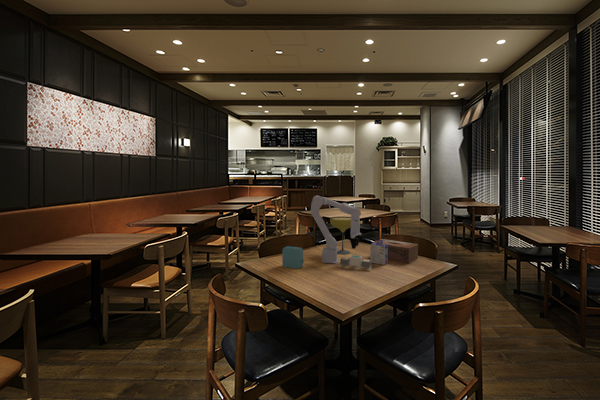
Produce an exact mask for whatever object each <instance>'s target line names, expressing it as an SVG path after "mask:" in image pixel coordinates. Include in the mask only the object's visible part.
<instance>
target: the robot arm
mask: <svg viewBox="0 0 600 400" xmlns="http://www.w3.org/2000/svg"><path fill="white" fill-rule="evenodd" d="M325 205H329V206H333V207H334V208H337V209H339V211H340V212H342V213H344V214H347V215H349V216H350V217H351V227H350V236H349V237H348V240H349V241H350V246H351V249H355V250H356V248H357V247H358V246H359V243H360V239H361V237H362V232H360V230H361V228H360V227H361V224H360V223H361V221H360V219H361V217H360V216H361V215H362V212H361V210H360V209H359V208H357V207H356V206H354V205H350V204H348V203H347V202H342V203H339V202H337V201H336V200H333V199H331V198H328V197H324V196H320V195H314V196H313V197H312V199H311V205H310V214H311V215H312V217H313V219H314V220H315V222H316V224H317V226H318V228H319V230H320V232H321V234H322V235H323V237H324V239H325V242H326V246H325V247H323V248H322V250H321V263H328V264H334V265H335V264H337V263H338V262H340V259H338V254H337V251H338V247H337V246H338V242H337V240H336V239H335V237H333V236H332V234H331V232H330V229H329V228H328V226H327V225H326V223H325V221H324V219H323V217H322V216H321V214H320V213H319V212H320V209H321V207H322V206H325Z"/></svg>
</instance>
